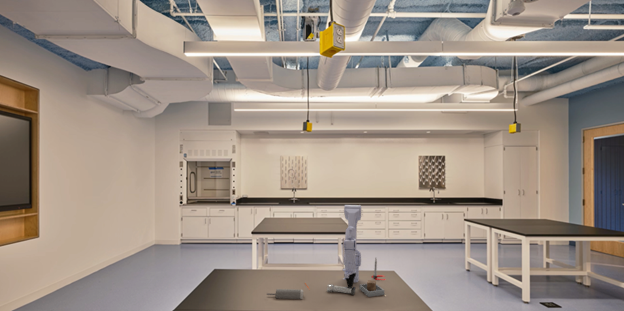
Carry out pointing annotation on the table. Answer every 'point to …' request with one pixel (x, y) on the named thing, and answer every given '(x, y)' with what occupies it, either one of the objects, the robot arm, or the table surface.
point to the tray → (371, 293)
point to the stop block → (371, 285)
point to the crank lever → (340, 289)
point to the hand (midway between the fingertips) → (350, 287)
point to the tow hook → (376, 272)
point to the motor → (288, 293)
